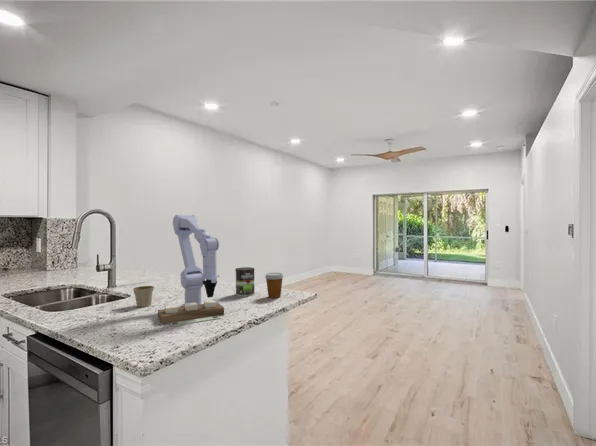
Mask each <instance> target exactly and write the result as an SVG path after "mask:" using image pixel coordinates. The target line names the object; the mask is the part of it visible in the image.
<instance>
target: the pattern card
mask: <svg viewBox="0 0 596 446" xmlns="http://www.w3.org/2000/svg"><path fill="white" fill-rule="evenodd" d="M220 319H221V317H220V315H218V316H211V317H205V318H198V319H192V320H185V321H179V322H172V323H169V325H170V326H171V327H177V326H182V325H188V324H195V323H201V322H202V323H203V322H208V321H214V320H220Z"/></svg>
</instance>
